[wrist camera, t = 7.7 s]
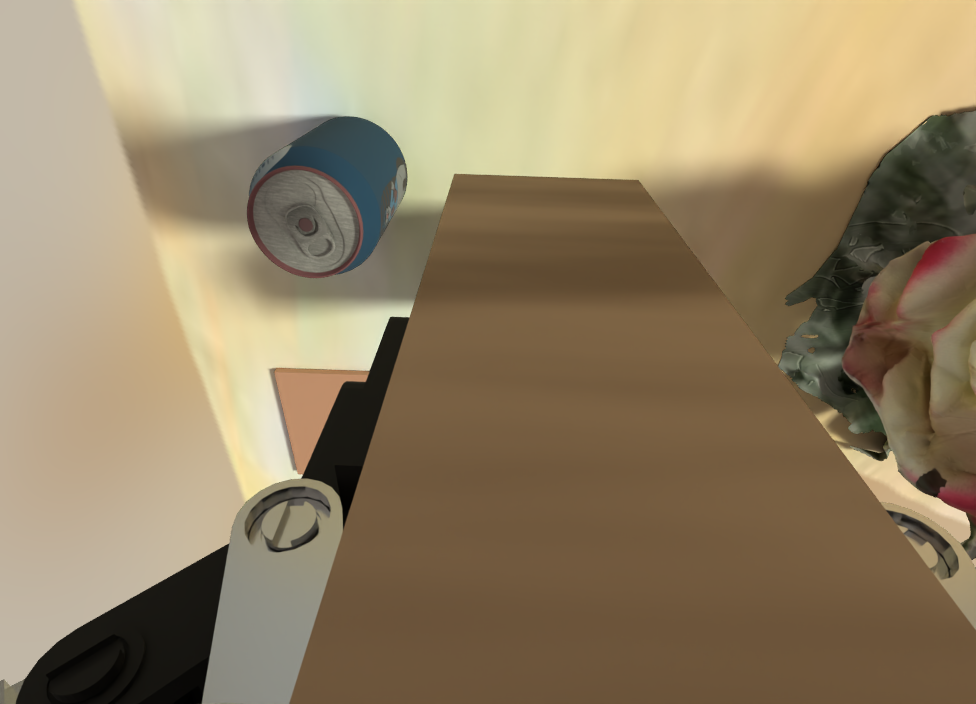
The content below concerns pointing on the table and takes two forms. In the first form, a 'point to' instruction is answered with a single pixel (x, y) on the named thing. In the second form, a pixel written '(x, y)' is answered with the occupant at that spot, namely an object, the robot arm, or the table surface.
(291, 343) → the table surface
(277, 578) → the robot arm
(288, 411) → the rest tile
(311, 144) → the soda can
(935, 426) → the rose bouquet
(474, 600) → the brown long rectangular block
